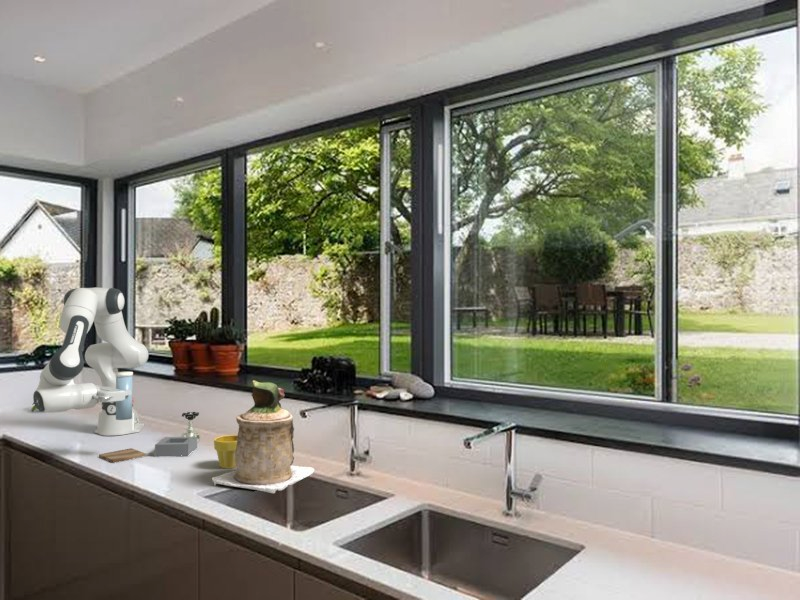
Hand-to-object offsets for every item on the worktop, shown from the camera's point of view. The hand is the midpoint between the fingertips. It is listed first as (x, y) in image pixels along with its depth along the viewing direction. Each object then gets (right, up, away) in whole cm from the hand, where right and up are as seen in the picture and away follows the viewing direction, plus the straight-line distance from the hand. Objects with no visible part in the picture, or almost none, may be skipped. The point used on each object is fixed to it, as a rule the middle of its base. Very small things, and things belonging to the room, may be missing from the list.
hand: (126, 391), depth 222 cm
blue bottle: (-1, -10, -1) cm, 10 cm away
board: (-1, -24, -1) cm, 24 cm away
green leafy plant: (-82, -24, +89) cm, 124 cm away
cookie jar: (+57, -24, -28) cm, 68 cm away
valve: (+17, -24, +21) cm, 36 cm away
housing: (+17, -24, +5) cm, 30 cm away
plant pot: (+42, -24, -13) cm, 50 cm away
